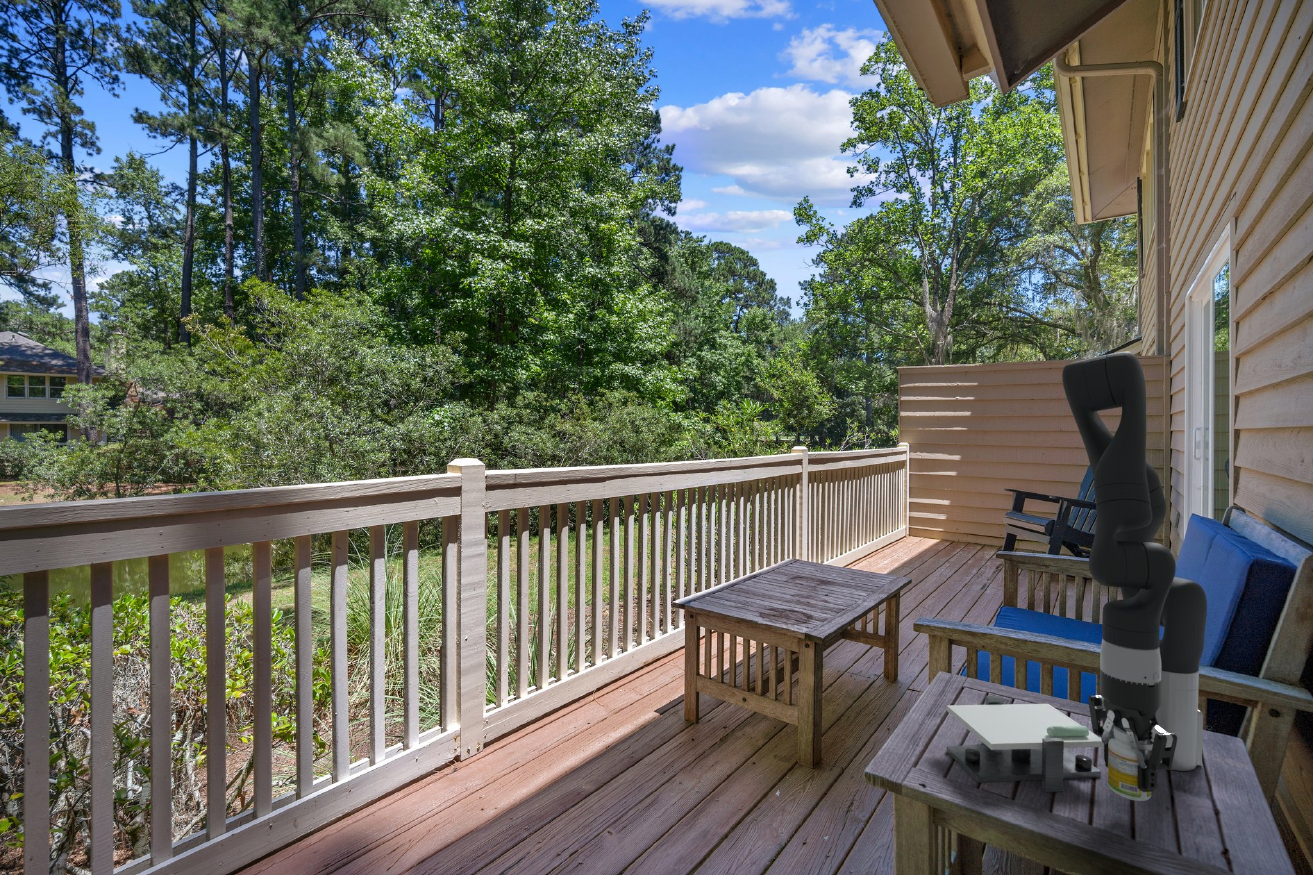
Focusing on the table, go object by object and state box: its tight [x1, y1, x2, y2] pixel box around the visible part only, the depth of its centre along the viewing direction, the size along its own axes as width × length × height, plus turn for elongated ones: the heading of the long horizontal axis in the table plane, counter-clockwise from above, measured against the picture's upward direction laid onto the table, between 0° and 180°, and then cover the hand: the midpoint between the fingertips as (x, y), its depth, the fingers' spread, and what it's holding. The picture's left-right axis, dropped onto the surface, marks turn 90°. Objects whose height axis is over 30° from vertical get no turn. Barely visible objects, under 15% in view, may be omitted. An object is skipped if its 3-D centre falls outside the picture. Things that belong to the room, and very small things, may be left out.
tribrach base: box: [946, 695, 1102, 793], centre depth 113 cm, size 22×17×8 cm
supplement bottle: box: [1107, 726, 1152, 802], centre depth 98 cm, size 5×5×10 cm
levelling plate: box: [946, 703, 1104, 750], centre depth 113 cm, size 20×14×3 cm
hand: (1129, 778), depth 98 cm, fingers closed on supplement bottle, 5 cm apart
